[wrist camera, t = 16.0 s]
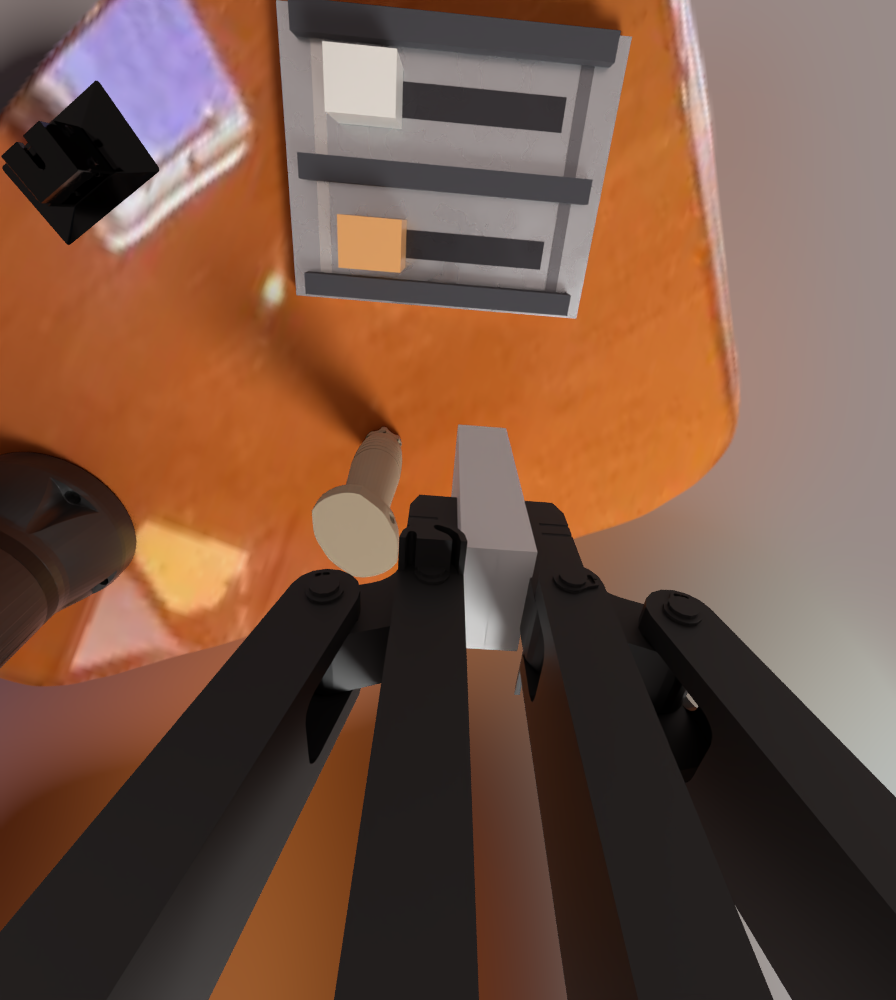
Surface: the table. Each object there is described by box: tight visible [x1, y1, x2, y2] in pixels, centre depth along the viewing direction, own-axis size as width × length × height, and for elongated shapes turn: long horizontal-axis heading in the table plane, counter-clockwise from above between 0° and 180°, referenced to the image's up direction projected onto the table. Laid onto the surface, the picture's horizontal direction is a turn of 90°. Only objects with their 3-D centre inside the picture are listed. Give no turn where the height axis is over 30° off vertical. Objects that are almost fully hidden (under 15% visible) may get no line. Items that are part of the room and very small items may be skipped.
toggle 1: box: [322, 41, 403, 129], centre depth 29 cm, size 4×3×4 cm
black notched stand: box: [1, 81, 159, 245], centre depth 33 cm, size 12×7×5 cm, turn 119°
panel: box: [276, 0, 632, 319], centre depth 34 cm, size 21×16×2 cm
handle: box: [312, 427, 402, 577], centre depth 38 cm, size 5×6×15 cm
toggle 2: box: [337, 214, 407, 273], centre depth 33 cm, size 4×3×4 cm
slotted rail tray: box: [288, 0, 621, 316], centre depth 32 cm, size 19×16×1 cm
